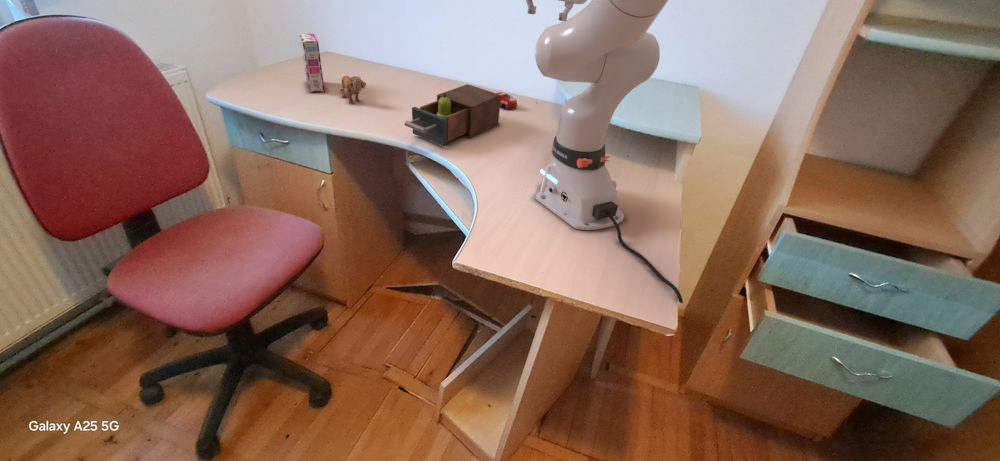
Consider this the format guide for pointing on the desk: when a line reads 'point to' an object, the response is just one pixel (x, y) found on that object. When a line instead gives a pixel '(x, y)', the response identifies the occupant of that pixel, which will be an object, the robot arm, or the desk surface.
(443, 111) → the pear
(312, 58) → the candy bar box
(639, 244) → the desk surface
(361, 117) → the desk surface
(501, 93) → the race car
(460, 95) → the cabinet
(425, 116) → the drawer
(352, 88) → the lion figurine
